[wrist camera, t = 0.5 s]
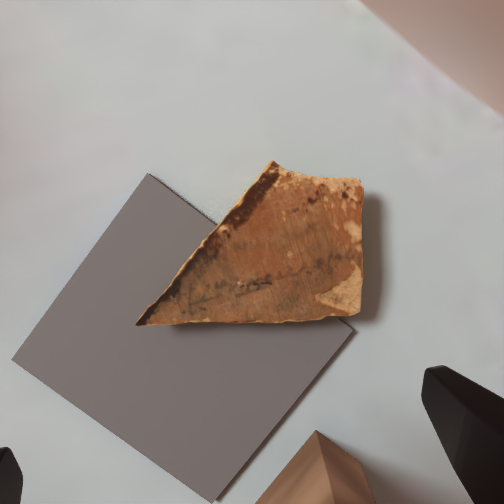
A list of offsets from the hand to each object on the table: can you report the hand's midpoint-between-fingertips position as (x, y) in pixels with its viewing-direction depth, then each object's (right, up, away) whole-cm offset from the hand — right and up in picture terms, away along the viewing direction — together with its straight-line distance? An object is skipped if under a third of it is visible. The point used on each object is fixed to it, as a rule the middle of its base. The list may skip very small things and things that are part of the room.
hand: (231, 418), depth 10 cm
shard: (+2, +2, +13) cm, 13 cm away
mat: (-3, -1, +14) cm, 14 cm away
